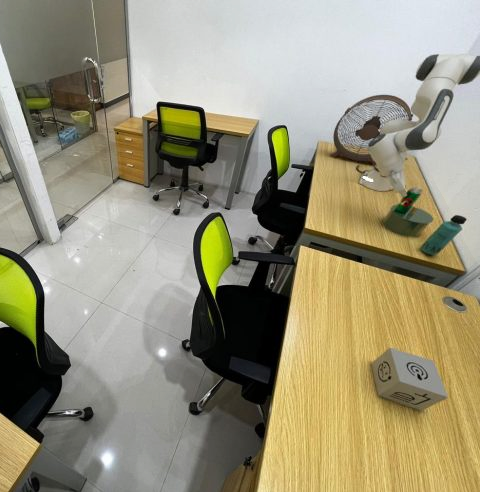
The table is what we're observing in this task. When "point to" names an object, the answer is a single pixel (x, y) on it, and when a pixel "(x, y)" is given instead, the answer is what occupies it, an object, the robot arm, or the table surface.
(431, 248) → the beverage bottle
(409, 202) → the soda can
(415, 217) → the lid
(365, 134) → the fan
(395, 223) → the pot
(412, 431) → the table surface
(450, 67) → the robot arm
